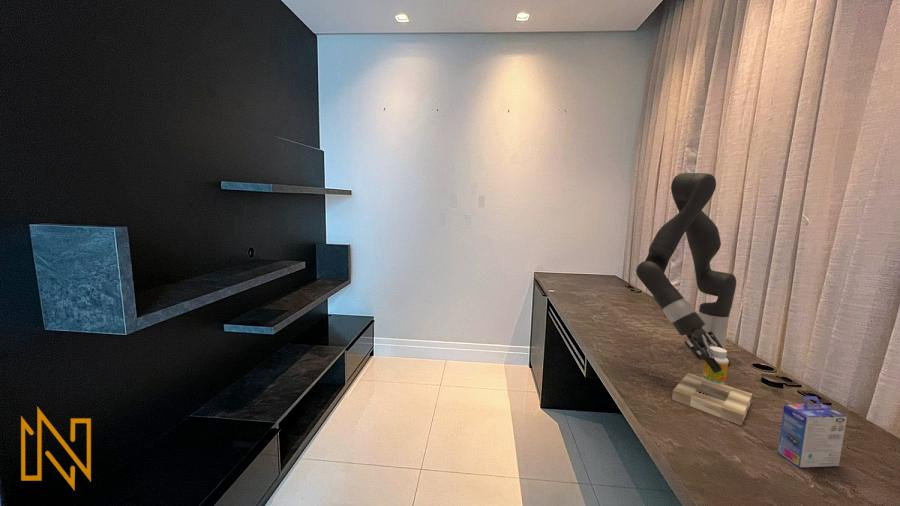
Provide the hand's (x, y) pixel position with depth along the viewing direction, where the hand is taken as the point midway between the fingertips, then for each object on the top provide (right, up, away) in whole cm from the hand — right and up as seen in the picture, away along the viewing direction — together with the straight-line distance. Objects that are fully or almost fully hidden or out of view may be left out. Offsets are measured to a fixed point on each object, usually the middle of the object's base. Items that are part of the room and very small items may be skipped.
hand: (723, 368), depth 98 cm
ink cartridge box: (+3, -14, -20) cm, 24 cm away
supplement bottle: (-1, -4, +2) cm, 5 cm away
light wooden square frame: (-1, -11, +3) cm, 11 cm away
